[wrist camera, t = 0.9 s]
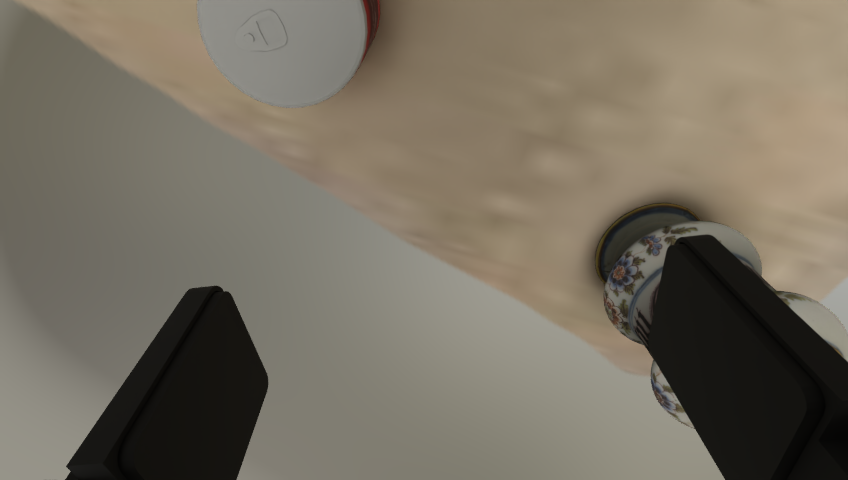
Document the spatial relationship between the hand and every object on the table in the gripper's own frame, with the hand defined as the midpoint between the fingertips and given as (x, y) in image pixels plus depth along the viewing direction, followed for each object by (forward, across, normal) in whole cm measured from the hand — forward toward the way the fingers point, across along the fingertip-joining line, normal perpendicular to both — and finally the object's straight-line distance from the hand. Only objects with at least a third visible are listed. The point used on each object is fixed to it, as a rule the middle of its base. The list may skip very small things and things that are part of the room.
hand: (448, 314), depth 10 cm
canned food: (+27, +7, -4) cm, 28 cm away
